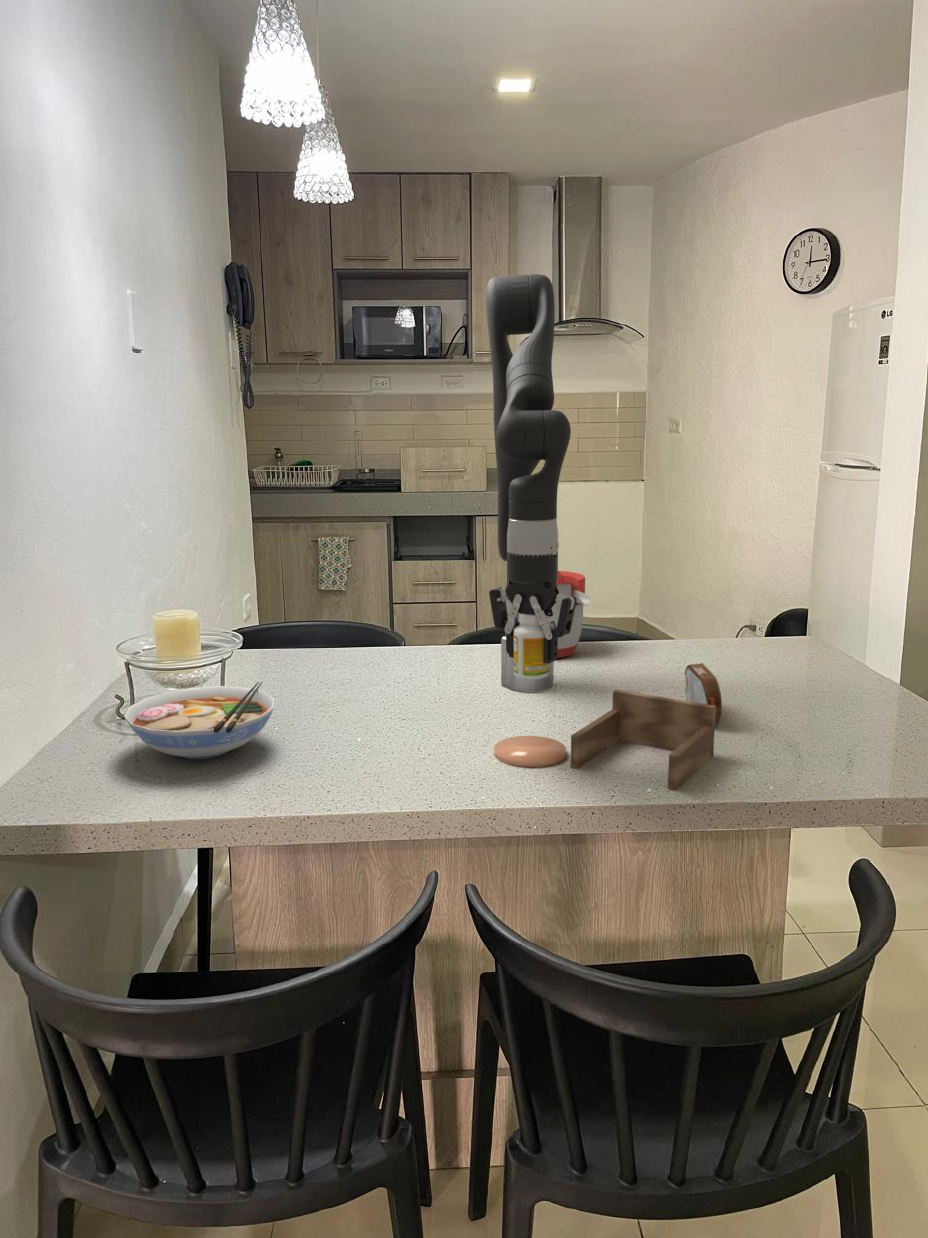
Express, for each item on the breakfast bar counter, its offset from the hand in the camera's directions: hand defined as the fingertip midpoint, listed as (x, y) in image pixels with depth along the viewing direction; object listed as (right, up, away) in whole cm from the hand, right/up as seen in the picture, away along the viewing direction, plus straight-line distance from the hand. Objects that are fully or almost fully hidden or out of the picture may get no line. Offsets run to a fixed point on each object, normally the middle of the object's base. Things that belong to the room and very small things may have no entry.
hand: (531, 659), depth 144 cm
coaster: (0, -15, +3) cm, 15 cm away
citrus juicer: (+9, -2, +63) cm, 63 cm away
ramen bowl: (-51, -15, +6) cm, 53 cm away
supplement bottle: (0, -3, +1) cm, 3 cm away
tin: (+31, -11, +21) cm, 39 cm away
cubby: (+17, -15, 0) cm, 23 cm away
